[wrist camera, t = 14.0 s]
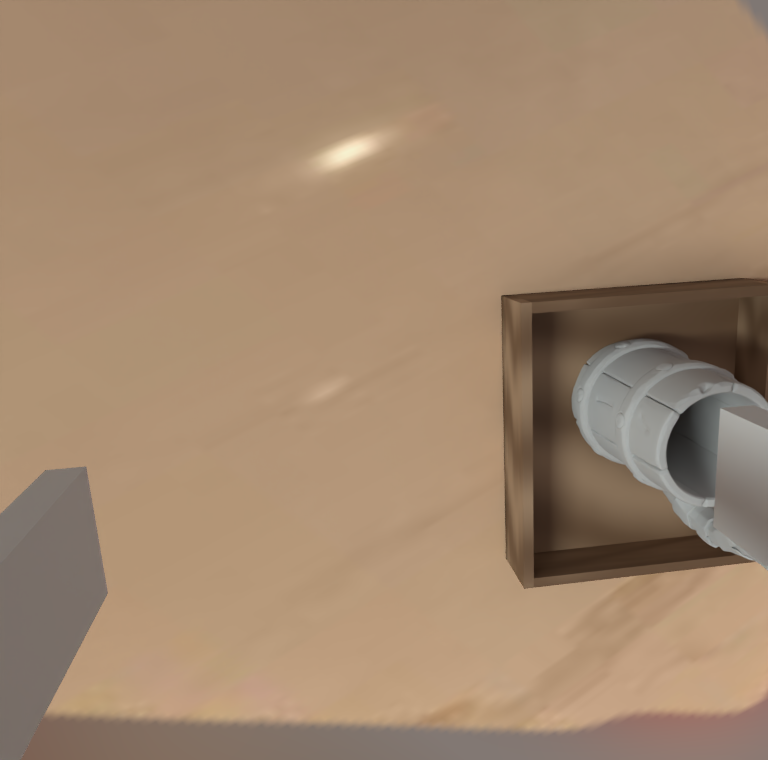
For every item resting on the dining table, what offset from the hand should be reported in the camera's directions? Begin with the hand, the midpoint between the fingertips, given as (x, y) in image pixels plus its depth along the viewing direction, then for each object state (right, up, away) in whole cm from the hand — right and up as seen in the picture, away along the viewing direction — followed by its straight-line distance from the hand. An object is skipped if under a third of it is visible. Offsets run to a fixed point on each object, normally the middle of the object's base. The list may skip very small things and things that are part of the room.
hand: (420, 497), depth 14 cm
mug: (+15, 0, +29) cm, 33 cm away
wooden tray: (+14, 0, +29) cm, 33 cm away
